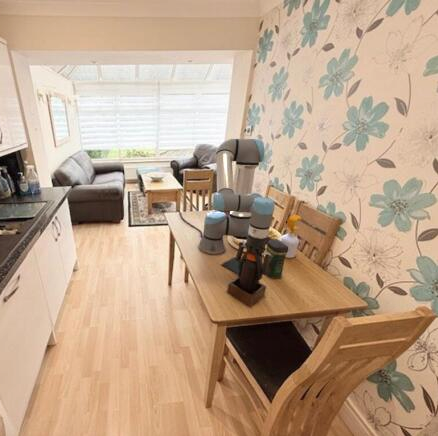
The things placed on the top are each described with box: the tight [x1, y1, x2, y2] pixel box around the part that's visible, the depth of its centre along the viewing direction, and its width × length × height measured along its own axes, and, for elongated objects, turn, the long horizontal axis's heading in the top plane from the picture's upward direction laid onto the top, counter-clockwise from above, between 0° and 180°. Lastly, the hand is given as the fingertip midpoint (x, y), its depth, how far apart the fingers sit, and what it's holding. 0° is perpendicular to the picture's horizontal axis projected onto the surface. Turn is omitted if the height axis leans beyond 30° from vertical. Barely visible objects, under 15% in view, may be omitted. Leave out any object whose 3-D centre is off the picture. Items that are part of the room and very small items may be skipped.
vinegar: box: [238, 253, 260, 295], centre depth 105 cm, size 7×7×20 cm
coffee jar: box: [266, 238, 288, 279], centre depth 121 cm, size 10×8×19 cm
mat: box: [221, 256, 239, 275], centre depth 130 cm, size 12×12×1 cm
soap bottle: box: [279, 214, 302, 259], centre depth 136 cm, size 9×9×25 cm
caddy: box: [226, 276, 267, 308], centre depth 109 cm, size 12×12×6 cm
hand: (248, 279), depth 107 cm, fingers closed on vinegar, 7 cm apart
